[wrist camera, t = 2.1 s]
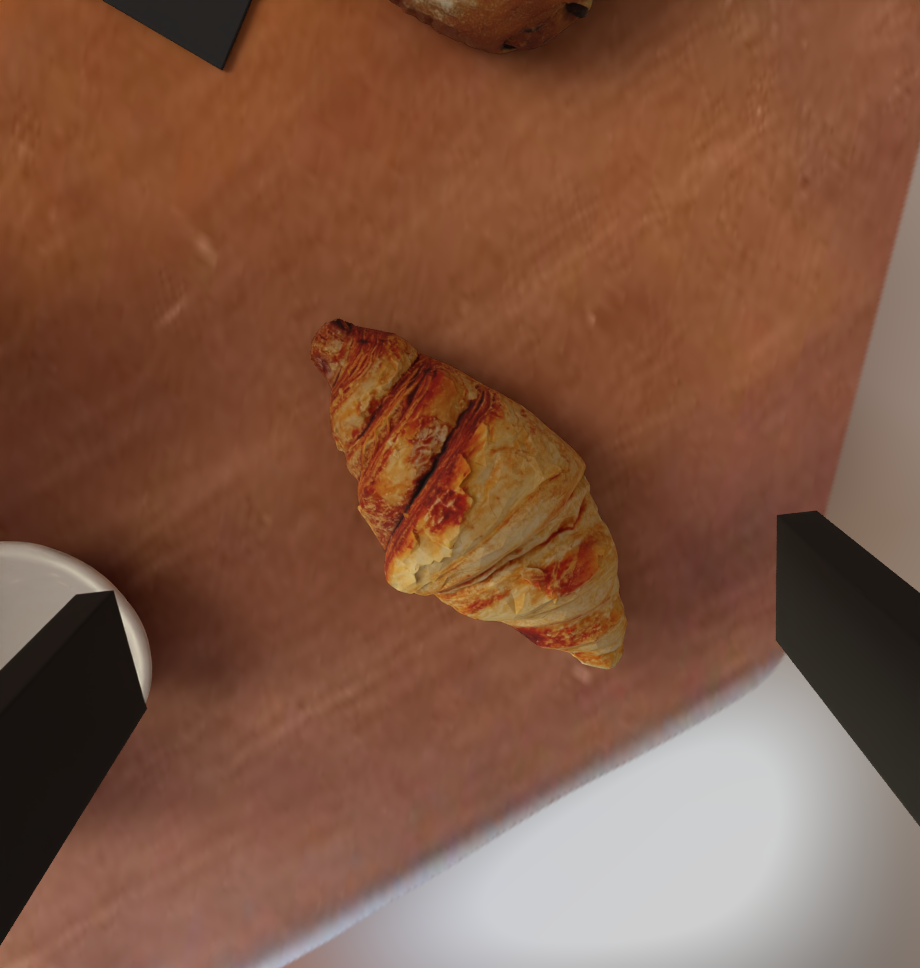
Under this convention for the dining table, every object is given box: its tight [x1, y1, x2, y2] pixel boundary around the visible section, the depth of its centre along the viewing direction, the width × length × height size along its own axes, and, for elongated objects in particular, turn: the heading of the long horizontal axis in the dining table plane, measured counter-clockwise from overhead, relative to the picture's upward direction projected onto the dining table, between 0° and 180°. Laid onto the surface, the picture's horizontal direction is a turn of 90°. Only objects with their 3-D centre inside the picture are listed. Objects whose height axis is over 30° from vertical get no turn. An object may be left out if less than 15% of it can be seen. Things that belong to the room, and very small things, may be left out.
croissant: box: [310, 319, 627, 669], centre depth 36 cm, size 21×10×8 cm
